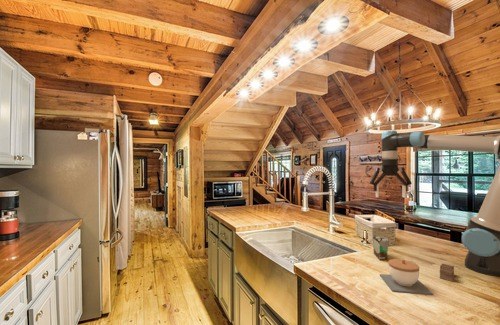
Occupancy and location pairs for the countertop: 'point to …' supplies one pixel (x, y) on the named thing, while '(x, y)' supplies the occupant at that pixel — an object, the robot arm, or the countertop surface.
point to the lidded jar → (404, 271)
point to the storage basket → (375, 227)
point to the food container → (380, 247)
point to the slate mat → (395, 287)
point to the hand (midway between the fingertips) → (390, 197)
